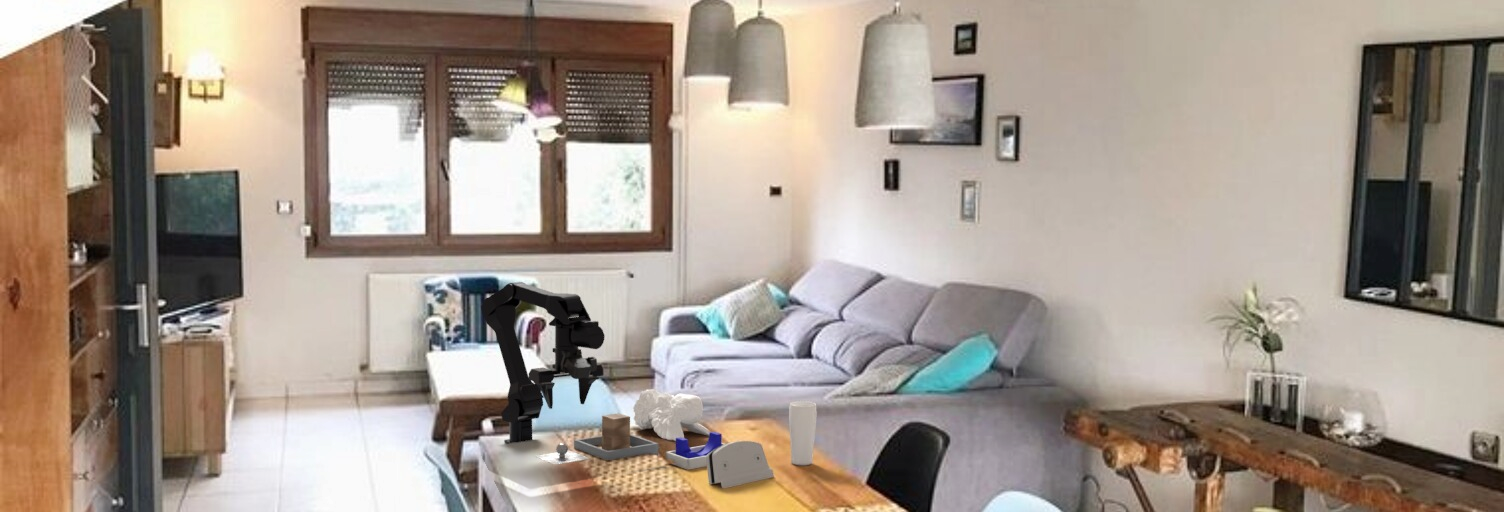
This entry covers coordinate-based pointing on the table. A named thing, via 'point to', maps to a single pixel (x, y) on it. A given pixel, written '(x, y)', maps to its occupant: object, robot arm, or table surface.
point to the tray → (636, 448)
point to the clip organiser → (686, 462)
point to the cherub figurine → (669, 413)
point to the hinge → (737, 464)
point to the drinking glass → (802, 431)
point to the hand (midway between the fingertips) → (566, 406)
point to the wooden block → (615, 431)
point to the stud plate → (561, 456)
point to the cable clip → (712, 444)
